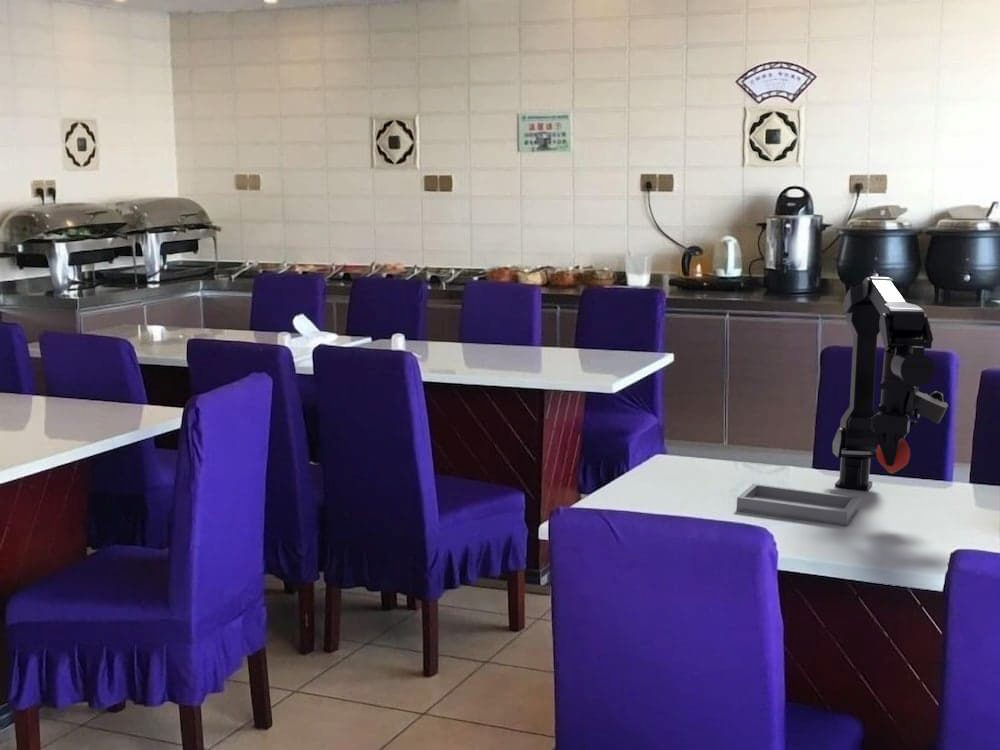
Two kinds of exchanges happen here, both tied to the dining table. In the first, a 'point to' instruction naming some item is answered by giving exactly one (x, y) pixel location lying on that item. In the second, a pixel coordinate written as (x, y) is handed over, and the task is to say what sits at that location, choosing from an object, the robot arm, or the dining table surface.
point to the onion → (900, 459)
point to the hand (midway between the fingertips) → (892, 462)
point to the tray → (798, 504)
